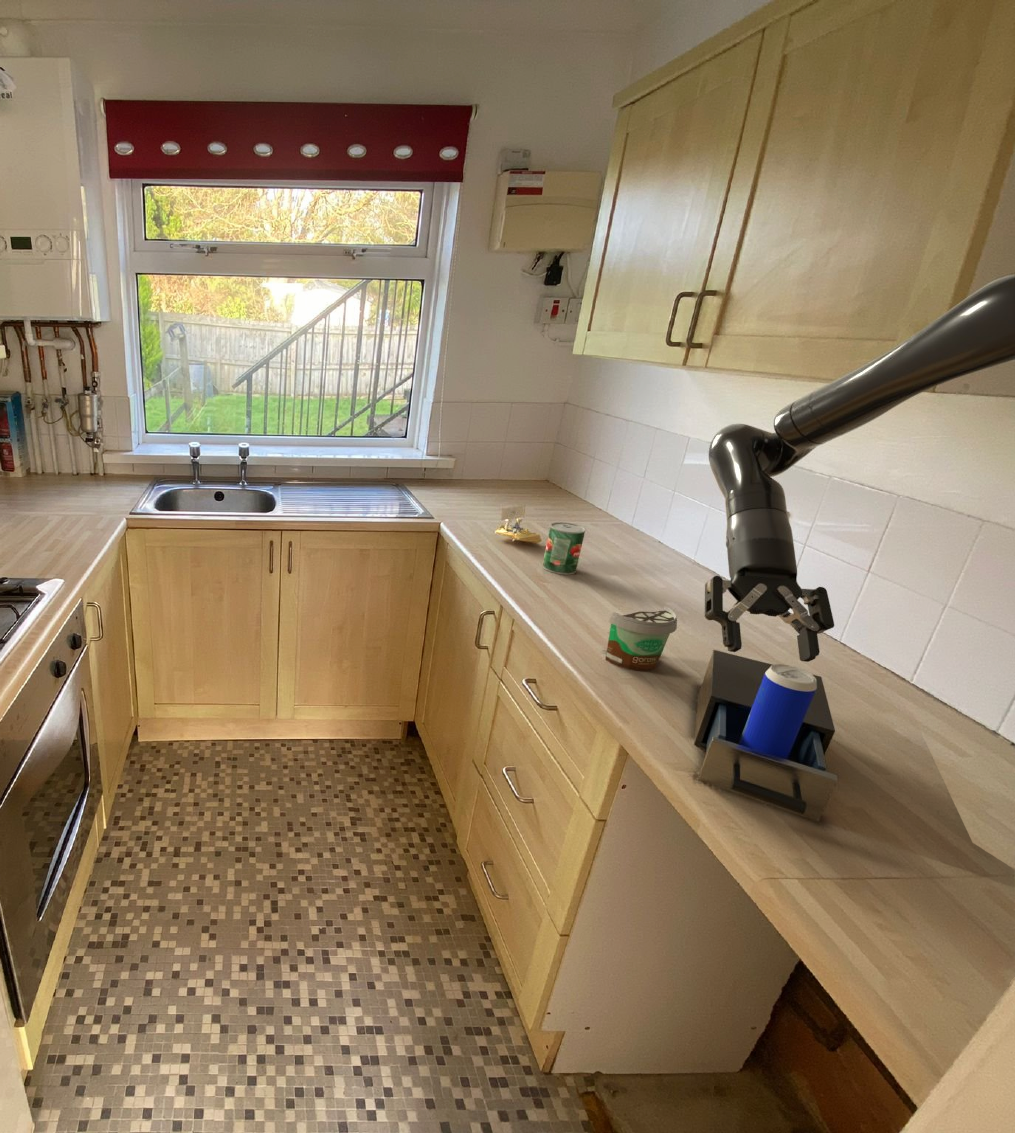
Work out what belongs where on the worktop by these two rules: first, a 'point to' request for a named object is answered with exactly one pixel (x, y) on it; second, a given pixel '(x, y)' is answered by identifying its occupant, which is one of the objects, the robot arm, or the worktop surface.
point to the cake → (516, 525)
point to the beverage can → (779, 710)
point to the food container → (639, 638)
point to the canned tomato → (563, 548)
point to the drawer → (767, 766)
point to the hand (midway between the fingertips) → (771, 655)
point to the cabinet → (750, 695)
